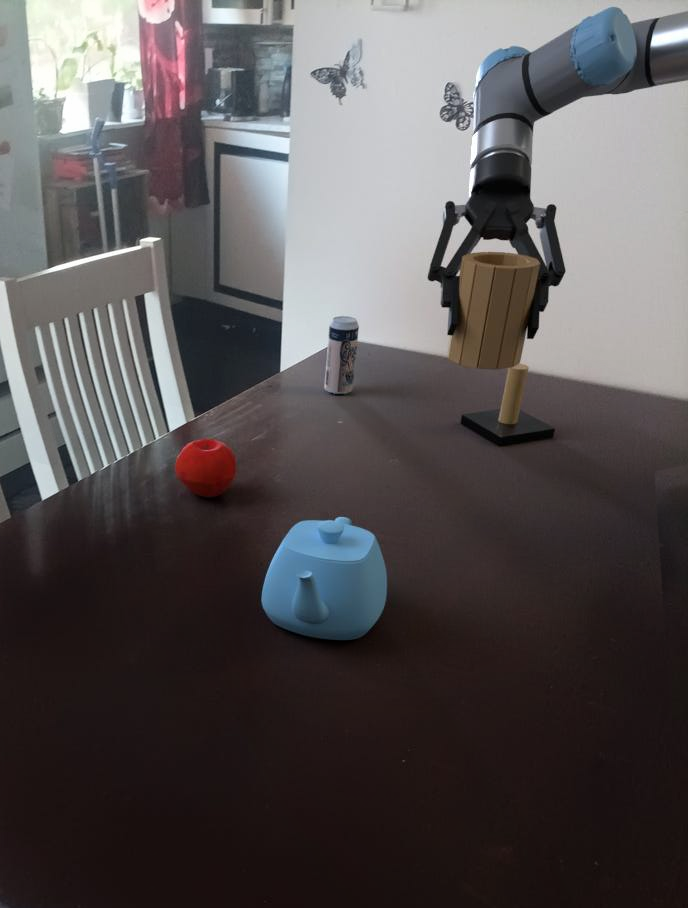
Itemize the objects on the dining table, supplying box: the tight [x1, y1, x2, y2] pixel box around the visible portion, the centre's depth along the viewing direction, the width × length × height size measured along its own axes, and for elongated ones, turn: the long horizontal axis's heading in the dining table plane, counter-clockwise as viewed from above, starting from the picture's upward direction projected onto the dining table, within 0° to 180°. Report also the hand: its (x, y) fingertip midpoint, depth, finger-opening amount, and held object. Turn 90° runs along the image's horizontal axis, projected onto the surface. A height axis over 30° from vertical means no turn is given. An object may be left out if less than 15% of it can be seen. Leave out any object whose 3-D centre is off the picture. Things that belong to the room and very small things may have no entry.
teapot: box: [260, 516, 388, 641], centre depth 92 cm, size 13×11×18 cm
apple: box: [174, 438, 237, 498], centre depth 118 cm, size 8×8×7 cm
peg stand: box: [459, 363, 556, 447], centre depth 137 cm, size 10×10×10 cm
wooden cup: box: [446, 251, 540, 371], centre depth 113 cm, size 9×9×12 cm
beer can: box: [323, 315, 360, 395], centre depth 151 cm, size 5×5×12 cm
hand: (492, 331), depth 111 cm, fingers closed on wooden cup, 9 cm apart
